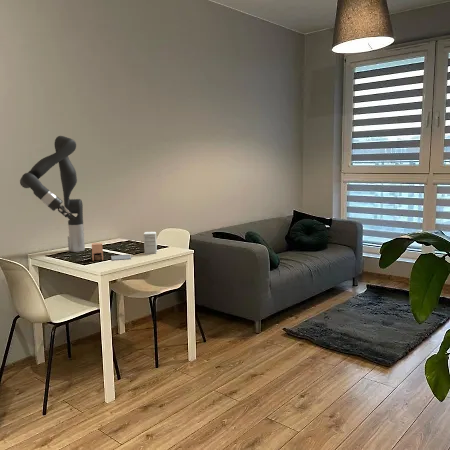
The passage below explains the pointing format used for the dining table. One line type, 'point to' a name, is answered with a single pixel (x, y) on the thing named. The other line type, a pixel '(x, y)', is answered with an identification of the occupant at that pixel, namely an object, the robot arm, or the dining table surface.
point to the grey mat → (120, 257)
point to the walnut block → (97, 257)
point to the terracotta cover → (97, 250)
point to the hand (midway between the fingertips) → (74, 219)
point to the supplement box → (150, 243)
